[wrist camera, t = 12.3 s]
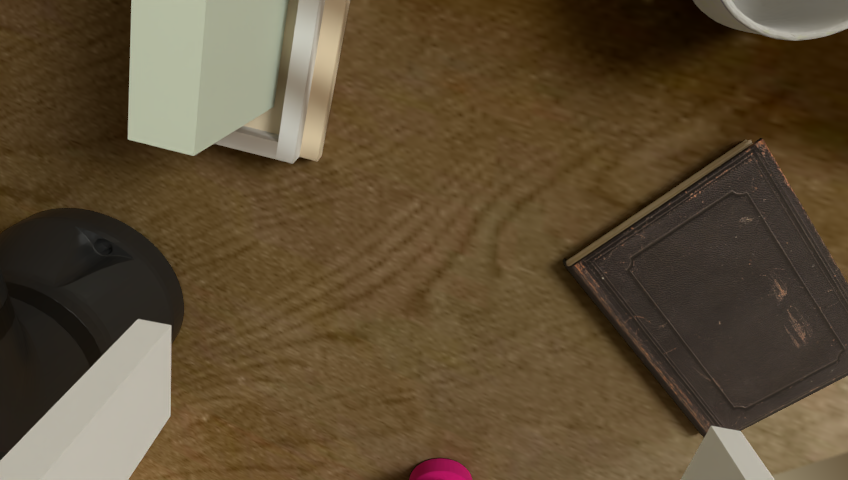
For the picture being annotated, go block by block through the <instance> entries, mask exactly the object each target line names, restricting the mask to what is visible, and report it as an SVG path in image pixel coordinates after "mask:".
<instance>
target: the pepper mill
mask: <svg viewBox="0 0 848 480" xmlns="http://www.w3.org/2000/svg"><path fill="white" fill-rule="evenodd" d="M409 480H472V477H471V474H470V472H469V471H468V470H467V469H466V468H465V466H463V465H462V464H460V463H459V462H456V461H454V460H451V459H444V458H438V459H430V460H427V461H424V462H422V463H421V464H419V465H418V466H417V467H416V468H415V469H414V470H413V471H412V473H411V475H410V478H409Z"/></svg>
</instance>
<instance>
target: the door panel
mask: <svg viewBox="0 0 848 480" xmlns="http://www.w3.org/2000/svg"><path fill="white" fill-rule="evenodd" d="M288 2H289V0H131V36H130V72H129V108H128V140H132V141H136V142H140V143H144V144H148V145H152V146H156V147H160V148H164V149H168V150H172V151H176V152H180V153H184V154H188V155H192V156H195V155H196V154H198V153H199V152H201V151H203V150H204V149H206V148H208V147H209V146H211V145H213V144H214V143H216V142H217V141H219V140H221V139H222V138H224V137H226V136H227V135H229V134H230V133H232V132H234V131H235V130H237V129H239V128H240V127H242V126H243V125H245V124H247V123H248V122H250V121H252V120H253V119H255V118H256V117H258V116H260V115H261V114H263V113H265V112H266V111H268V110H269V109H271V108H273V107H274V102H275V95H276V88H277V81H278V74H279V67H280V59H281V52H282V45H283V38H284V31H285V24H286V16H287V9H288Z"/></svg>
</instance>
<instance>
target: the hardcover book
mask: <svg viewBox="0 0 848 480" xmlns="http://www.w3.org/2000/svg"><path fill="white" fill-rule="evenodd" d="M563 263H564V266H565V267H566V268H567V270H568V271H569V272H570V273H571V274H572V276H573V277H574V278H575V279H576V281H577V282H578V283H579V284H580V286H581V287H582V288H583V289H584V291H585V292H586V293H587V294H588V295H589V297H590V298H591V299H592V300H593V302H594V303H595V304H596V305H597V307H598V308H599V309H600V310H601V311H602V313H603V314H604V315H605V316H606V318H607V319H608V320H609V321H610V323H611V324H612V325H613V326H614V327H615V329H616V330H617V331H618V332H619V334H620V335H621V336H622V337H623V339H624V340H625V341H626V342H627V344H628V345H629V346H630V347H631V348H632V350H633V351H634V352H635V353H636V355H637V356H638V357H639V358H640V360H641V361H642V362H643V363H644V364H645V366H646V367H647V368H648V369H649V371H650V372H651V373H652V374H653V376H654V377H655V378H656V379H657V380H658V382H659V383H660V384H661V385H662V387H663V388H664V389H665V390H666V392H667V393H668V394H669V395H670V397H671V398H672V399H673V400H674V401H675V403H676V404H677V405H678V406H679V408H680V409H681V410H682V411H683V413H684V414H685V415H686V416H687V417H688V419H689V420H690V421H691V422H692V424H693V425H694V426H695V427H696V429H697V430H698V431H699V432H700V433H701V435H702V436H703V437H705V435H706V434H707V432H708V430H709V428H710V426H716V427H721V428H726V429H732V430H737V431H741V430H743V429H745V428H747V427H749V426H751V425H753V424H755V423H757V422H759V421H761V420H762V419H764V418H766V417H768V416H770V415H772V414H774V413H776V412H778V411H780V410H782V409H784V408H786V407H788V406H790V405H792V404H794V403H795V402H797V401H799V400H801V399H803V398H805V397H807V396H809V395H811V394H813V393H815V392H817V391H819V390H821V389H823V388H825V387H827V386H828V385H830V384H832V383H834V382H836V381H838V380H840V379H842V378H844V377H846V376H848V283H847V282H846V280H845V278H844V276H843V275H842V273H841V271H840V270H839V268H838V266H837V264H836V263H835V261H834V259H833V258H832V256H831V254H830V253H829V251H828V249H827V247H826V246H825V244H824V242H823V241H822V239H821V237H820V235H819V234H818V232H817V230H816V229H815V227H814V225H813V224H812V222H811V220H810V218H809V217H808V215H807V213H806V212H805V210H804V208H803V206H802V205H801V203H800V201H799V200H798V198H797V196H796V195H795V193H794V191H793V189H792V188H791V186H790V184H789V183H788V181H787V179H786V178H785V176H784V174H783V172H782V171H781V169H780V167H779V166H778V164H777V162H776V160H775V159H774V157H773V155H772V154H771V152H770V150H769V149H768V147H767V145H766V143H765V142H764V140H763V139H762V138H760V139H759V140H757V141H756V142H754V143H752V141H751V140H749V141H748V140H745V141H743V142H742V143H740V144H739V145H737V146H736V147H734V148H733V149H731V150H730V151H728V152H727V153H725V154H724V155H722V156H721V157H719V158H718V159H716V160H715V161H713V162H712V163H710V164H709V165H708V166H706V167H705V168H703V169H702V170H700V171H699V172H697V173H696V174H694V175H693V176H691V177H690V178H688V179H687V180H685V181H684V182H682V183H681V184H679V185H678V186H676V187H675V188H673V189H672V190H670V191H669V192H668V193H666V194H665V195H663V196H662V197H660V198H659V199H657V200H656V201H654V202H653V203H651V204H650V205H648V206H647V207H645V208H644V209H642V210H641V211H639V212H638V213H636V214H635V215H633V216H632V217H630V218H629V219H628V220H626V221H625V222H623V223H622V224H620V225H619V226H617V227H616V228H614V229H613V230H611V231H610V232H608V233H607V234H605V235H604V236H602V237H601V238H599V239H598V240H596V241H595V242H593V243H592V244H590V245H589V246H588V247H586V248H585V249H583V250H582V251H580V252H579V253H577V254H576V255H574V256H573V257H571V258H570V259H568V260H567V261H566V260H565V259H564V260H563Z"/></svg>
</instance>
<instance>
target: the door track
mask: <svg viewBox="0 0 848 480" xmlns="http://www.w3.org/2000/svg"><path fill="white" fill-rule="evenodd" d="M349 3H350V0H289V2H288V9H287V16H286V24H285V31H284V38H283V45H282V52H281V59H280V67H279V74H278V81H277V88H276V95H275V102H274V107H273V108H271V109H269V110H268V111H266V112H265V113H263V114H261V115H260V116H258V117H256V118H255V119H253V120H252V121H250V122H248V123H247V124H245V125H243V126H242V127H240V128H239V129H237V130H235V131H234V132H232V133H230V134H229V135H227V136H226V137H224V138H222V139H221V140H219V141H217V142H216V143H214V144H217V145H221V146H225V147H229V148H233V149H237V150H241V151H245V152H249V153H253V154H257V155H261V156H265V157H269V158H272V159H276V160H280V161H284V162H288V163H292V164H293V163H294V162H295V161H296V160H297V159H298V158H299V157H302V158H306V159H310V160H314V161H318V160H319V159H320V157H321V156H322V151H323V145H324V140H325V134H326V129H327V123H328V118H329V113H330V107H331V102H332V96H333V91H334V85H335V80H336V74H337V69H338V63H339V58H340V52H341V47H342V42H343V36H344V31H345V25H346V20H347V14H348V9H349Z"/></svg>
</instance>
